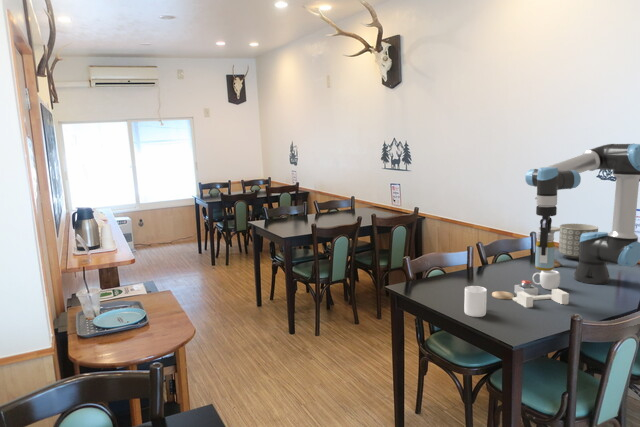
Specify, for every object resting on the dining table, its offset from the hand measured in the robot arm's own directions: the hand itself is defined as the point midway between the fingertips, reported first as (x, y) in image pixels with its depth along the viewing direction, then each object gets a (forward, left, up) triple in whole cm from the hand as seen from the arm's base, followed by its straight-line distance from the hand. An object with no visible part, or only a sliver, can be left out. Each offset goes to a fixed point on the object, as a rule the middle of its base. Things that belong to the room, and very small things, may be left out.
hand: (544, 260), depth 202 cm
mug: (-14, -19, -19) cm, 30 cm away
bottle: (0, 0, -4) cm, 4 cm away
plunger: (0, -12, -17) cm, 21 cm away
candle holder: (-39, -55, -19) cm, 70 cm away
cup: (+31, +4, -19) cm, 37 cm away
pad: (+11, -12, -18) cm, 25 cm away
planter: (-63, -64, -19) cm, 91 cm away
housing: (0, -6, -18) cm, 19 cm away
